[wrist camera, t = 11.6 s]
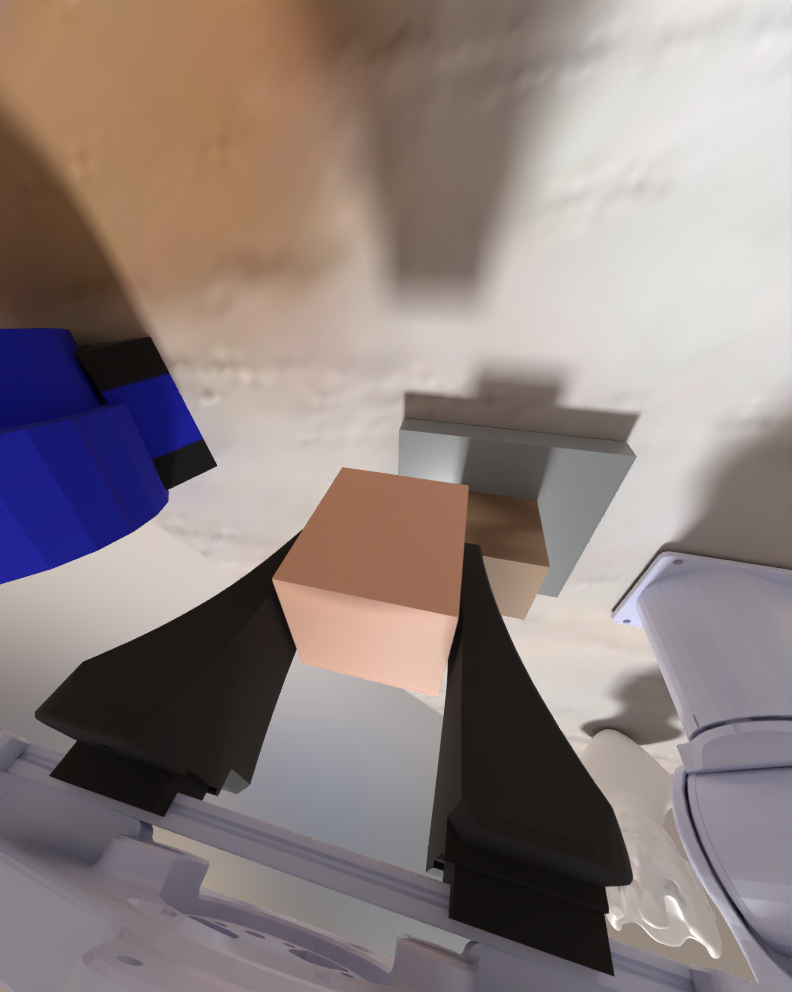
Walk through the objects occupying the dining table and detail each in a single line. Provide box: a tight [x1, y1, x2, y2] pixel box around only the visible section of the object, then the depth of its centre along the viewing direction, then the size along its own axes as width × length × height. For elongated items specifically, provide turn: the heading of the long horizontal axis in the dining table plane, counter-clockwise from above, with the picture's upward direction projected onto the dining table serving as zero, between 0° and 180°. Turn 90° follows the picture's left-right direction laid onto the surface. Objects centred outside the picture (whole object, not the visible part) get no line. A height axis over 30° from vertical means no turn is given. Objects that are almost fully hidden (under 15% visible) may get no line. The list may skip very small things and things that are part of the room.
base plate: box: [398, 418, 636, 597], centre depth 21 cm, size 12×12×2 cm
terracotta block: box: [272, 467, 469, 697], centre depth 11 cm, size 4×4×5 cm
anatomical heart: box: [580, 729, 722, 959], centre depth 33 cm, size 10×11×15 cm
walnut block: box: [464, 491, 550, 619], centre depth 19 cm, size 4×4×5 cm
